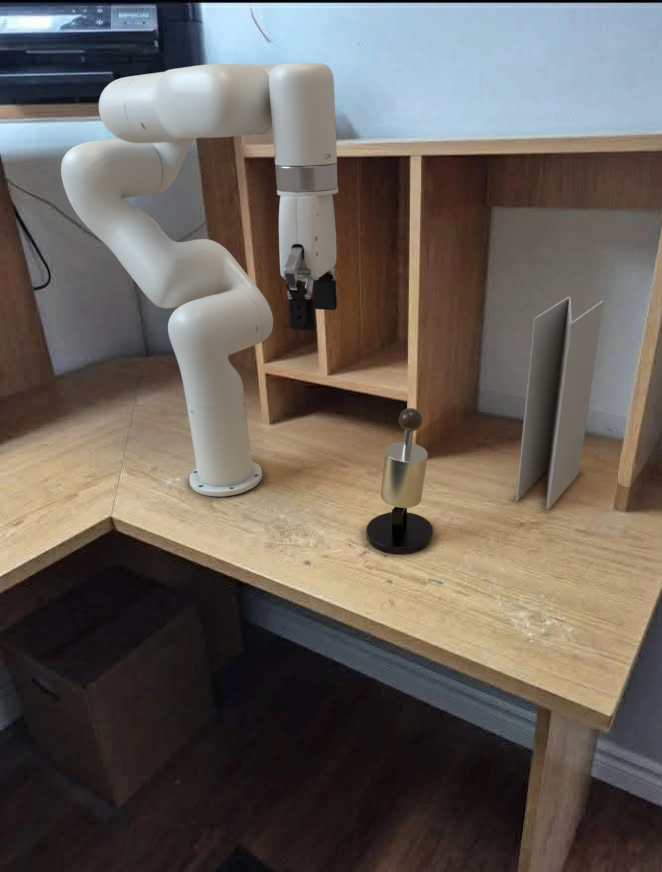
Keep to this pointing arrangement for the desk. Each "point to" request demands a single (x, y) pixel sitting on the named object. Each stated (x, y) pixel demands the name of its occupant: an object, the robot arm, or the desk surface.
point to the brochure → (557, 397)
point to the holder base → (399, 532)
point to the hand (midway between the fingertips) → (315, 318)
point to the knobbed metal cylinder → (404, 466)
